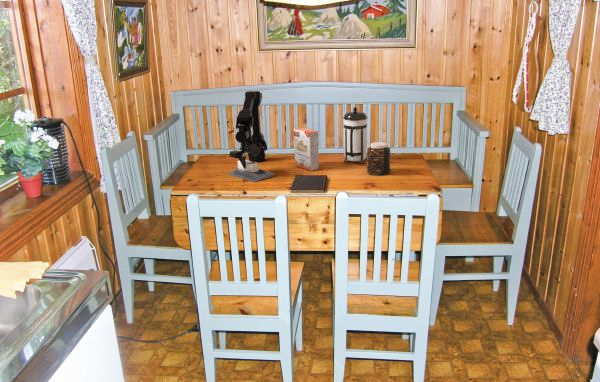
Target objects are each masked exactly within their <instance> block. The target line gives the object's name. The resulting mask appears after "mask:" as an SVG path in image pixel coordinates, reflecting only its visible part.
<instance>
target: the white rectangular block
mask: <svg viewBox="0 0 600 382" xmlns="http://www.w3.org/2000/svg"><path fill="white" fill-rule="evenodd" d="M245 161H246V168H245V169H244V168H243V166H242V164H241V162H240V161H239V160H237V169H242V170H246V171H249V172H256V171H259V169H260V168H259V162H255V161H254V162H251V161H249V160H247V159H245Z"/></svg>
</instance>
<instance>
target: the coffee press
mask: <svg viewBox="0 0 600 382" xmlns="http://www.w3.org/2000/svg"><path fill="white" fill-rule="evenodd" d="M342 119H343V136H344V137H343V138H344V139H343V141H344V142H343V143H344V144H343V145H344V146H343V148H344V149H343V150H344V160H343V164H344V165H347V164H348V163H349V162H359V163H360V164H361V165H365V161H367V128H368V122H367V119H368V116H367V114H366V113H365V112H363V111H358V108H357V107H353V109H352V111H348V112H346V113H345V114H344V116H343V118H342Z"/></svg>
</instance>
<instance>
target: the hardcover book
mask: <svg viewBox="0 0 600 382" xmlns="http://www.w3.org/2000/svg"><path fill="white" fill-rule="evenodd" d="M327 180H328V175H326V174H304V175H303V174H298V175H297V174H296V175H294V177H293V181H292V183H291V186H290V188H289V190H290V193H291V194H292V193H293V194H296V193H297V194H298V193H299V194H300V193H301V194H304V193H305V194H307V193H309V194H311V193H313V194H314V193H315V194H317V193H322V194H323V193H324V194H325V190H326V187H327V182H328V181H327Z"/></svg>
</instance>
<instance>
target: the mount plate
mask: <svg viewBox="0 0 600 382" xmlns="http://www.w3.org/2000/svg"><path fill="white" fill-rule="evenodd" d="M227 174H228V176H232V177H235V178H238V179H241V180H245V181H248V182H252V183H256V182H259V181H262V180H267V179H270V178H272V177H276V173H273V172H271V171H268V170H264V169H260V168H259V171H256V172H249V171H246V170H242V169H238V168H234V169H233V171H229V172H228V173H227Z"/></svg>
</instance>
